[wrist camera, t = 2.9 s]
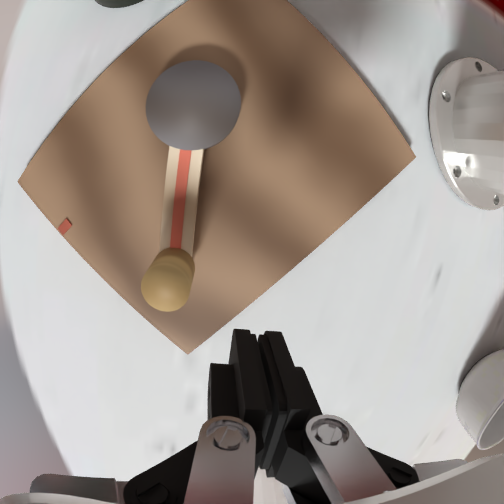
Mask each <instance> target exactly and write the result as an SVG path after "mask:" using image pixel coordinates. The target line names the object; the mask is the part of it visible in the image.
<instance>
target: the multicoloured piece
mask: <svg viewBox="0 0 504 504" xmlns="http://www.w3.org/2000/svg"><path fill="white" fill-rule="evenodd" d="M240 109H241V96H240V91H239V89H238V86H237V84H236V82H235V80H234V79H233V77H232V76H231V75H230V74H229V73H228V72H227V71H226V70H224V69H223V68H222V67H220V66H218V65H216V64H214V63H211V62H207V61H201V60H192V61H185V62H181V63H179V64H176V65H174V66H172V67H170V68H168V69H167V70H165V71H164V72H163V73H162V74H161V75H160V76H159V77H158V78H157V79H156V80H155V82H154V83H153V84H152V86H151V88H150V90H149V93H148V95H147V99H146V117H147V121H148V124H149V126H150V128H151V130H152V131H153V133H154V134H155V135H156V136H157V137H158V138H159V139H160V140H161V141H162V142H164V143H166V144H167V145H169V154H168V162H167V170H166V179H165V188H164V199H163V210H162V222H161V235H160V251H159V253H158V255H157V256H156V257H155V259H154V261H153V262H152V264H151V265H150V267H149V268H148V270H147V271H146V273H145V275H144V276H143V278H142V281H141V292H142V295H143V297H144V299H145V300H146V302H147V303H148V304H149V305H150V306H152V307H153V308H155V309H157V310H160V311H165V312H170V311H175V310H178V309H180V308H181V307H182V306H184V304H185V303H186V302H187V300H188V298H189V294H190V290H191V286H192V282H193V277H194V273H195V264H194V261H193V259H192V253H193V243H194V232H195V223H196V214H197V205H198V196H199V188H200V180H201V172H202V164H203V157H204V150H205V149H207V148H210V147H212V146H214V145H216V144H218V143H220V142H221V141H222V140H224V139H225V138H226V137H227V136H228V135H229V134H230V132H231V131H232V130H233V128H234V126H235V124H236V122H237V120H238V117H239V113H240Z"/></svg>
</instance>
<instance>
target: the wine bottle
mask: <svg viewBox="0 0 504 504" xmlns="http://www.w3.org/2000/svg"><path fill="white" fill-rule="evenodd" d="M95 1H96V2H97V3H98V4H100V5H102V6H105V7H109V8H121V7H127V6H130V5H134V4H136V3H139V2H141V1H143V0H95Z"/></svg>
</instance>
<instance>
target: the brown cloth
mask: <svg viewBox="0 0 504 504" xmlns="http://www.w3.org/2000/svg"><path fill="white" fill-rule="evenodd" d="M192 60H201V61H207V62H211V63H214V64H216V65H218V66H220V67H222V68H223V69H224V70H226V71H227V72H228V73H229V74H230V75H231V76H232V77H233V79H234V80H235V82H236V84H237V86H238V89H239V91H240V96H241V109H240V113H239V117H238V120H237V122H236V124H235V126H234V128H233V130H232V131H231V132H230V134H229V135H228V136H227V137H226V138H225V139H224V140H222V141H221V142H220V143H218V144H216V145H214V146H212V147H210V148H207V149H205V150H204V157H203V164H202V172H201V180H200V188H199V196H198V205H197V214H196V223H195V232H194V243H193V253H192V259H193V261H194V264H195V273H194V277H193V282H192V286H191V290H190V294H189V298H188V300H187V302H186V303H185V304H184V306H182V307H181V308H180V309H178V310H175V311H170V312H165V311H160V310H157V309H155V308H153V307H152V306H150V305H149V304H148V303H147V302H146V300H145V299H144V297H143V295H142V292H141V281H142V278H143V276H144V275H145V273H146V271H147V270H148V268H149V267H150V265H151V264H152V262H153V261H154V259H155V257H156V256H157V255H158V253H159V251H160V235H161V222H162V210H163V199H164V188H165V179H166V170H167V162H168V154H169V145H167V144H166V143H164V142H162V141H161V140H160V139H159V138H158V137H157V136H156V135H155V134H154V133H153V131H152V130H151V128H150V126H149V124H148V121H147V117H146V99H147V95H148V93H149V90H150V88H151V86H152V84H153V83H154V82H155V80H156V79H157V78H158V77H159V76H160V75H161V74H162V73H163V72H164V71H165V70H167V69H168V68H170V67H172V66H174V65H176V64H179V63H181V62H185V61H192ZM415 158H416V156H415V154H414V153H413V151H412V150H411V148H410V146H409V145H408V143H407V142H406V140H405V139H404V137H403V135H402V134H401V132H400V131H399V129H398V128H397V126H396V125H395V124H394V122H393V121H392V119H391V118H390V116H389V115H388V114H387V112H386V111H385V109H384V108H383V107H382V105H381V104H380V102H379V101H378V100H377V98H376V97H375V96H374V95H373V93H372V92H371V91H370V89H369V88H368V87H367V85H366V84H365V83H364V82H363V80H362V79H361V78H360V77H359V75H358V74H357V73H356V72H355V71H354V69H353V68H352V67H351V66H350V65H349V64H348V62H347V61H346V60H345V59H344V58H343V57H342V55H341V54H340V53H339V52H338V51H337V50H336V49H335V48H334V47H333V45H332V44H331V43H330V42H329V41H328V40H327V39H326V38H325V37H324V36H323V35H322V34H321V33H320V32H319V31H318V30H317V29H316V28H315V27H314V26H313V25H312V24H311V23H310V22H309V21H308V20H307V19H306V18H305V17H304V16H303V15H302V14H301V13H300V12H299V11H298V10H297V9H296V8H295V7H294V6H293V5H291V4H290V3H289V2H288V1H287V0H188V1H187V2H186V3H184V4H183V5H181V6H180V7H179V8H177V9H176V10H174V11H173V12H172V13H170V14H169V15H168V16H166V17H165V18H164V19H163V20H161V21H160V22H159V23H157V24H156V25H155V26H154V27H153V28H151V29H150V30H149V31H148V32H146V33H145V34H144V35H143V36H142V37H141V38H139V39H138V40H137V41H136V42H135V43H134V44H133V45H131V46H130V47H129V48H128V49H127V50H126V51H125V52H124V53H123V54H122V55H120V56H119V57H118V58H117V59H116V60H115V61H114V62H113V63H112V64H111V65H110V66H109V67H108V68H107V69H106V70H105V71H104V72H103V73H102V74H101V75H100V76H99V77H98V78H97V79H96V80H95V81H94V82H93V83H92V85H91V86H90V87H89V88H88V89H87V90H86V91H85V92H84V93H83V94H82V96H81V97H80V98H79V99H78V100H77V101H76V102H75V104H74V105H73V106H72V107H71V108H70V109H69V111H68V112H67V113H66V114H65V115H64V117H63V118H62V119H61V120H60V122H59V123H58V124H57V126H56V127H55V128H54V129H53V131H52V132H51V133H50V135H49V136H48V137H47V139H46V140H45V141H44V143H43V144H42V146H41V147H40V148H39V150H38V151H37V153H36V154H35V156H34V157H33V158H32V160H31V161H30V163H29V164H28V166H27V167H26V169H25V171H24V172H23V174H22V175H21V177H20V178H19V180H18V183H19V184H20V186H21V187H22V188H23V189H24V191H25V192H26V193H27V195H28V196H29V197H30V198H31V200H32V201H33V202H34V203H35V204H36V206H37V207H38V208H39V209H40V211H41V212H42V213H43V214H44V215H45V216H46V218H47V219H48V220H49V221H50V222H51V224H52V225H53V226H54V227H55V228H56V229H57V230H58V232H59V233H60V234H61V235H62V236H63V237H64V238H65V239H66V240H67V242H68V243H69V244H70V245H71V246H72V247H73V248H74V249H75V250H76V251H77V252H78V253H79V255H80V256H81V257H82V258H83V259H84V260H85V261H86V262H87V263H88V264H89V265H90V266H91V267H92V268H93V269H94V270H95V271H96V272H97V273H98V274H99V275H100V276H101V277H102V278H103V279H104V280H105V281H106V282H107V283H108V284H109V285H110V286H111V287H112V288H113V289H114V290H115V291H116V292H117V293H118V294H119V295H120V296H121V297H122V298H123V299H125V300H126V301H127V302H128V303H129V304H130V305H131V306H132V307H133V308H134V309H135V310H136V311H137V312H139V313H140V314H141V315H142V316H143V317H144V318H145V319H146V320H148V321H149V322H150V323H151V324H152V325H153V326H154V327H155V328H157V329H158V330H159V331H160V332H161V333H162V334H164V335H165V336H166V337H167V338H168V339H169V340H171V341H172V342H173V343H174V344H175V345H177V346H178V347H179V348H180V349H182V350H183V351H184V352H185V353H186V354H189V353H190V352H192V351H193V350H194V349H195V348H197V347H198V346H199V345H201V344H202V343H203V342H204V341H206V340H207V339H208V338H209V337H211V336H212V335H213V334H214V333H216V332H217V331H218V330H219V329H220V328H222V327H223V326H224V325H225V324H227V323H228V322H229V321H230V320H232V319H233V318H234V317H235V316H236V315H238V314H239V313H240V312H241V311H243V310H244V309H245V308H246V307H247V306H249V305H250V304H251V303H252V302H253V301H255V300H256V299H257V298H258V297H259V296H261V295H262V294H263V293H264V292H265V291H267V290H268V289H269V288H270V287H271V286H273V285H274V284H275V283H276V282H277V281H279V280H280V279H281V278H282V277H283V276H284V275H286V274H287V273H288V272H289V271H290V270H291V269H293V268H294V267H295V266H296V265H297V264H298V263H300V262H301V261H302V260H303V259H304V258H305V257H307V256H308V255H309V254H310V253H311V252H312V251H313V250H315V249H316V248H317V247H318V246H319V245H320V244H321V243H323V242H324V241H325V240H326V239H327V238H328V237H329V236H331V235H332V234H333V233H334V232H335V231H336V230H337V229H338V228H340V227H341V226H342V225H343V224H344V223H345V222H346V221H347V220H349V219H350V218H351V217H352V216H353V215H354V214H355V213H356V212H357V211H359V210H360V209H361V208H362V207H363V206H364V205H365V204H366V203H367V202H368V201H370V200H371V199H372V198H373V197H374V196H375V195H376V194H377V193H378V192H379V191H380V190H382V189H383V188H384V187H385V186H386V185H387V184H388V183H389V182H390V181H391V180H392V179H393V178H394V177H396V176H397V175H398V174H399V173H400V172H401V171H402V170H403V169H404V168H405V167H406V166H407V165H408V164H409V163H410V162H411V161H413V160H414V159H415Z"/></svg>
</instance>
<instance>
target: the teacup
mask: <svg viewBox="0 0 504 504" xmlns="http://www.w3.org/2000/svg"><path fill="white" fill-rule="evenodd" d="M456 413H457V417H458V419H459V421H460V423H461V424H462V426H463V427H464V429H465V430H466V431H467V433H468V434H469V435H470V436H471V438H472V439H473V440H474V441H475V443H476V444H477V447H478V448H479V449H480V450H486V449H489V448H491V447H493V446H495V445H496V444H498V443H499V442H501V441H502V440H503V439H504V349H501V350H498V351H496V352H494V353H492V354H489V355H487V356H485V357H484V358H482V359H481V360H480V361H478V362H477V363H476V364H475V365H474V366H473V368H472V369H471V370H470V371H469V373H468V374H467V375H466V377H465V379H464V380H463V382H462V385H461V387H460V390H459V395H458V398H457V403H456Z"/></svg>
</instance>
